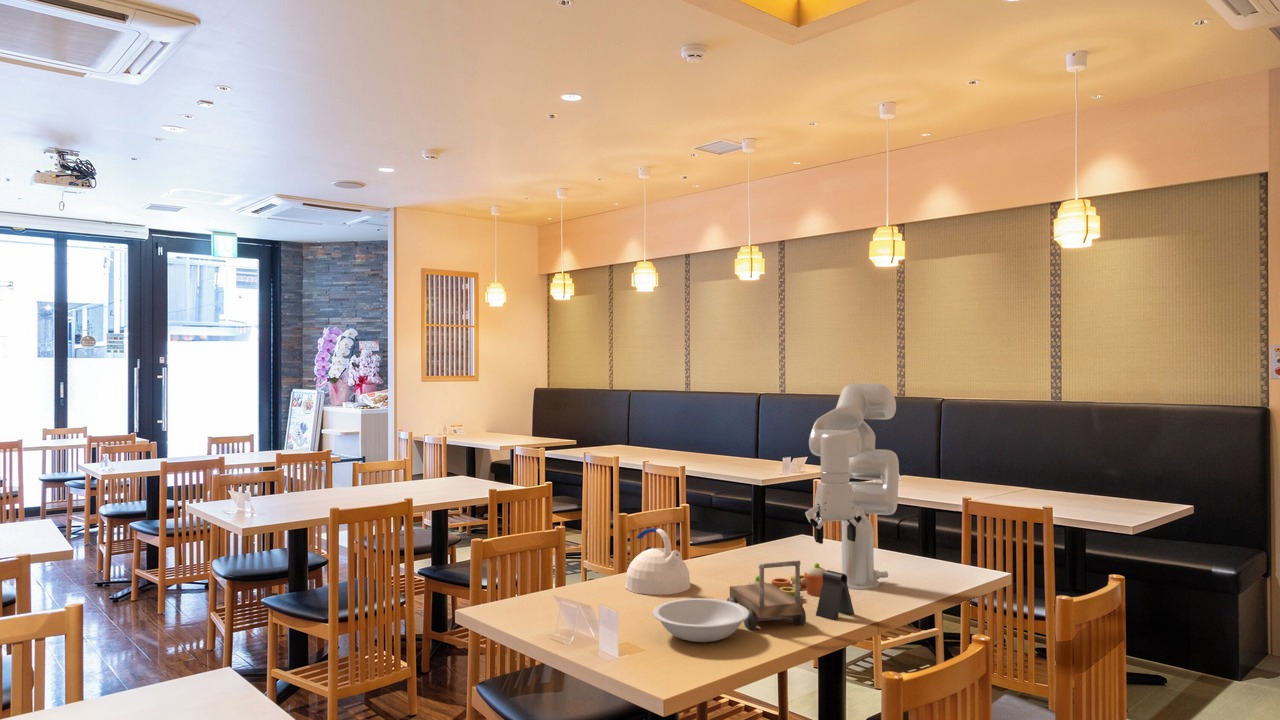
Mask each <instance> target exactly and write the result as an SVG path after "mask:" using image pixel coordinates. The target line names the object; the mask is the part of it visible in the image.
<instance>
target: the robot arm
mask: <svg viewBox="0 0 1280 720" xmlns="http://www.w3.org/2000/svg"><path fill="white" fill-rule="evenodd" d="M896 401H897V400H896V397H895V396H894V394H893V392H892V391H891V389H890V388H889V387H888V386H886V385H885V384H883V383H868V382H867V383H857V382H856V383H850V384H847V385H845V386H844V387H843V388H842V390H841V392H840V394H839V398H838V400H837V404H836V407H835V408H833V409H832V410H829V411H828V412H827V413H825V414H823V415H821V416H820V417H818V418H817V419H816V420H815V422H814V423H813V426H812V428H811V431H810V434H809V439H808V446H809V447H808V449H809V450H810V453H812V455H814V456H817V457H820V482H818V483H817V484H816V490H815V496H814V497H815V498H814V506H813V507H811V508H809V509H808V510H807V511H805V512H804V515H805V517H806V518H807V521H808V523H809V524H810V525H811V526H812V527H813V531H814V533H813V535H814V537H813V538H814V540H815V543H818V544H820V545H822V544H823V543H824V529H823V528H822V527H823V525H824V524H825V523H826V522H841V573H842V574H846V575H847V586H848V590H849V589H851V590H863V591H864V590H865V591H867V590H874V589H877V588H879V587H880V581H879V579H880V578H882V579H884V578H886V579H887V578H889V573H888V571H887V570H884V571H880V570H879V569H878V570H877V569H875V564H874V563H875V562H874V561H875V559H874V557H875V556H874V554H875V553H874V551H875V550H874V548H875V547H874V545H875V543H874V534H875V533H874V527H873V524H872V522H871V521H870V519H869V518H868V517H867V516H866V515H876V516H877V515H878V516H879V515H882V516H891V515H894V514H895V513H896V511H897V509H898V508H897V507H898V499H899V498H898V497H899V476H900V475H899V474H900V464H899V463H900V462H899V458H898V455H897V453H896V452H894V451H893V450H890V449H877V448H876V434H875V432H874V431H873V429H872V428H871V426H870V425H869V424H868V423H866V421H865V420H891V419H892V418H894V416H895V414H896V411H897V402H896ZM850 479H856V480H857V479H858V480H868V481H867V482H866V481H850ZM869 480H870V481H881V482H882V483H881V482H869ZM813 515H814V516H813ZM814 518H815V519H814Z"/></svg>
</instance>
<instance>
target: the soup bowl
mask: <svg viewBox="0 0 1280 720" xmlns="http://www.w3.org/2000/svg"><path fill="white" fill-rule="evenodd" d="M652 614H653V616H654V618H655V619H656V620H658V621H660V623H661V624H662V626H663V627H664V629H666V630H667V632H669V633H670V634H671V635H673V636H674V637H676V638H678V639H680V640H685V641H688V642H696V643H709V642H710V643H711V642H716V641H720V640H723V639H726V638H728V637H730V636H732V635H733V634H734V633H735V632H736V631H737V630H738V629H739V627H740V626H741V624H742V623H744V621H745V620H746V619H747V618H748V617H749V611H748V610H747V609H746V608H745V607H744V606H742V605H739V604H737V603H734V602H730V601H727V600H724V599H717V598H716V599H715V598H700V597H699V598H698V597H697V598H696V597H695V598H681V599H676V600H675V599H674V600H671V601H666V602H663V603H661V604H659V605H657V606H655V607H654V609H653V612H652Z"/></svg>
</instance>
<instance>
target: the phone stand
mask: <svg viewBox="0 0 1280 720" xmlns="http://www.w3.org/2000/svg"><path fill="white" fill-rule="evenodd" d="M853 606H854V605H853V601H852V598H851V595H850V591H849V588H848V586H847V575H846V574H842V572H839V571H832V570H830V569H829V570H828V569H827V570H826V571H824V572H823V584H822V589H821V593H820V596H819V599H818V604H817V607H816V612H815V616H816V617H820V618H823V619H826V620H829V621H830V620H831V621H833V620H834V621H836V620H839V615H840V614H844V615H846V616H847V615H848V616H854V615H855V610H854V607H853Z"/></svg>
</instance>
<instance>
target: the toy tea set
mask: <svg viewBox="0 0 1280 720" xmlns="http://www.w3.org/2000/svg"><path fill="white" fill-rule="evenodd" d="M824 571H827V570H826V569H825V568H823V567H822V566H820V564H819V563H818V562H816V563H814V566H811V567H810V568H807V570H806V571H804V574H800V591H805V590H806V593H807V595H809V596H814V597H820V593H821V589H822V584H823V572H824ZM764 583H766V582H765V581H764ZM769 583H770V582H769ZM753 584H759V575H756V576H755V580H752V581H750V582H748V583H747V585H753ZM770 584H772V585H774V586H775V587H777V588H779V589H781V590H782V591H784V592H786V593H787V594H789V595H791V596H792V597H794V598H795V574H793V575H792V576H791V578H790V579H788V578H782V577H779V578H778V577H775V578H772V579H771V583H770ZM802 598H803V599H804V594H802V593H800V601H801V599H802ZM801 602H802V601H801Z"/></svg>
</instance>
